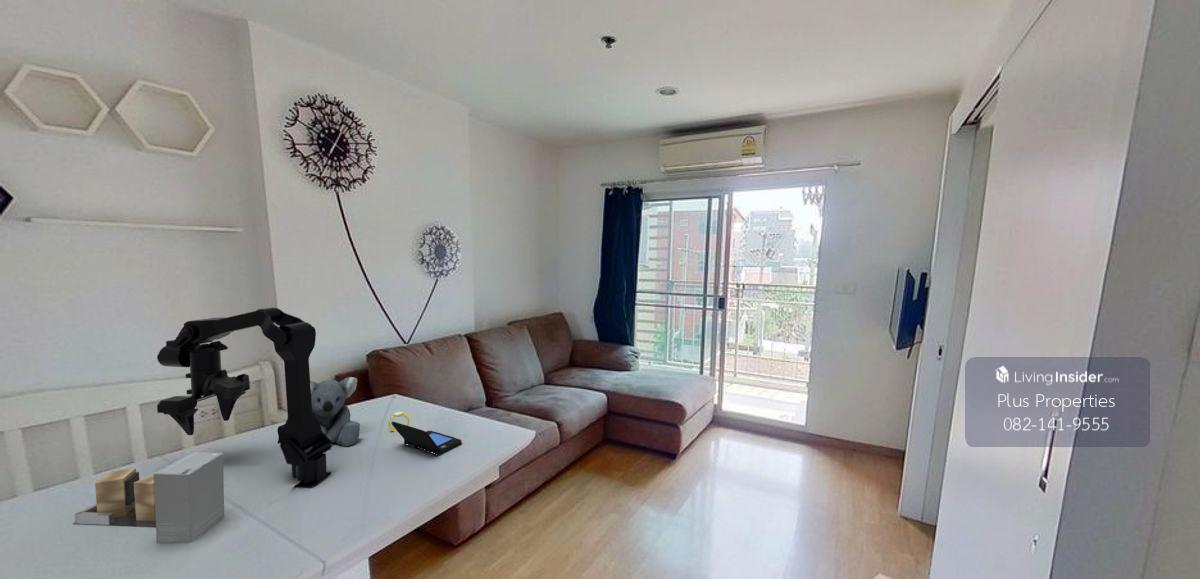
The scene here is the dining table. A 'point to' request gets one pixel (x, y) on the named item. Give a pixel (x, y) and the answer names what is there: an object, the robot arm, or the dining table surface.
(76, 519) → the rail
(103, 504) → the block
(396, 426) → the game console
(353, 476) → the dining table surface
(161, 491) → the skincare box
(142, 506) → the block
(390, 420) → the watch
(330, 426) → the koala plush
